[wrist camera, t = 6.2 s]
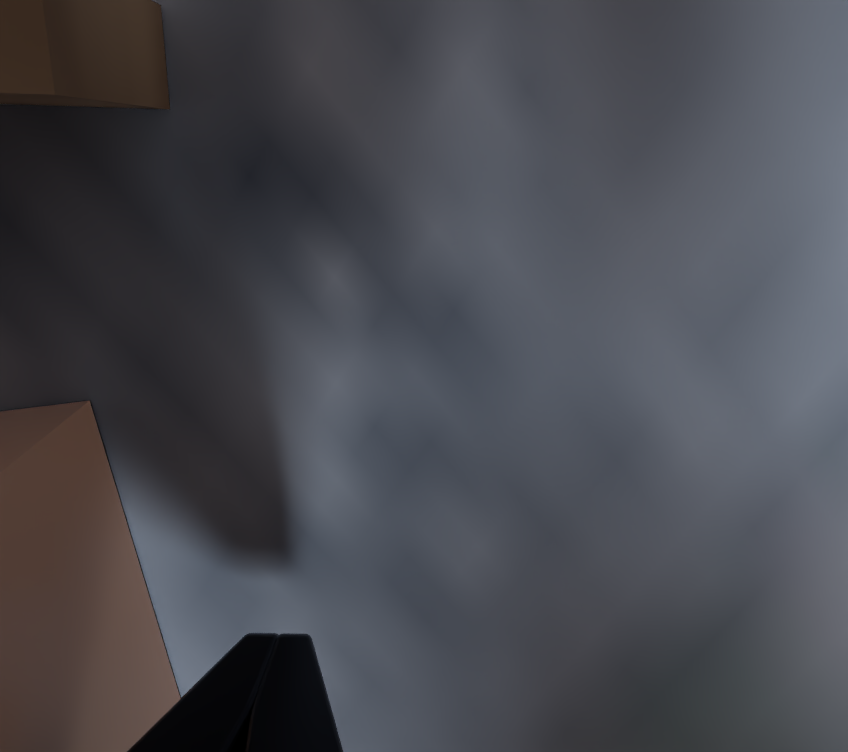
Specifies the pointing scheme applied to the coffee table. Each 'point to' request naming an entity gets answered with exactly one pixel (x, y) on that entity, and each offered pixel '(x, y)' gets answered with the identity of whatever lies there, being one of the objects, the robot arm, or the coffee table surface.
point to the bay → (83, 53)
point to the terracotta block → (71, 594)
